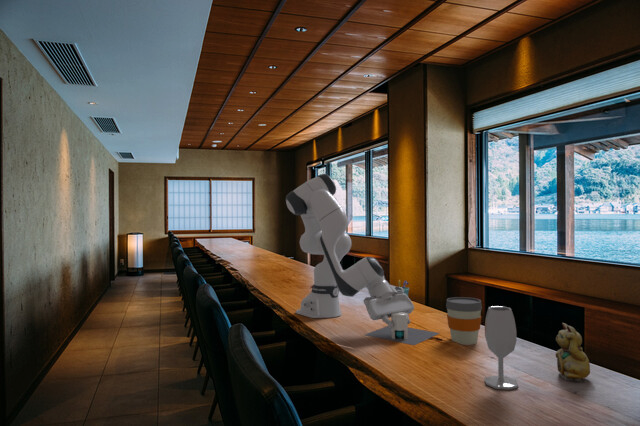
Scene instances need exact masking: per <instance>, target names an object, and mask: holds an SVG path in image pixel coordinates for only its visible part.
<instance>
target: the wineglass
mask: <svg viewBox="0 0 640 426" xmlns="http://www.w3.org/2000/svg"><path fill="white" fill-rule="evenodd" d="M512 310H513V309H512V308H511V307H507V306H505V305H502V306H501V305H500V306H499V305H494V306H493V305H492V306H488V308H487V310H486V315H485V321H484V322H485V323H484V337H485V340H486V345H487V348H488V350H490V351H491V352H492V353H493V354H494V355H495V356H496V357H497V365H498V366H497V368H498V369H497V375H491V376H487V377H486V376H485V377H484V382H485V385H487V386H488V387H491V388H493V389H494V390H495V389H496V390H507V391H508V390H509V391H510V390H514V389H519V384H518V381H517V380H516V379H514V378H510V376H509V377H508V376H504V359H505V357H507V356H508V355H510V354H511V353H513V352H514V351H515V348H516V344H517V339H518V337H517V327H516V321H515V320H516V319H515V316H514V313H513V311H512Z"/></svg>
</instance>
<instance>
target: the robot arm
mask: <svg viewBox="0 0 640 426" xmlns="http://www.w3.org/2000/svg"><path fill="white" fill-rule="evenodd" d="M336 190H337V186H336V183H335V181H334V179H332V177H331V176H330V175H329V174H326V173H322V174H319V175H316V177H314V178H311V179H308V180H307V181H305V182H304V183H302V184H300V185H299V186H297V188H295V189H293V190H291V191H290V192H289V193H287V195H286V196H285V202H286V207H287V209H288V210H289V211H290V212H291V213H292V214H293V215H295V216H300V218H301V220H302V223H303V226H304V233H303V234H301V235H300V239H299V246H300V249H301V251H302V252H304V253H306V254H310V255H317V256H318V255H319V256H321V255H322V256H323V260H322V262H319V263H318V264H316V265H315V267H314V268H313V284H312V285H311V286H309V289H311V291H310V292H309V293H308V294H307V295H306V296H305V297H304V298H303V299H302V300H301V302H300V308H299V309H297V310H296V311H295V314H297V315H301V316H304V317H308V318H311V319H323V318H325V319H327V318H330V319H331V318H336V317H339V316H342V311H341V306H340V305H341V304H340V300H339V299H340V298H339V293H340V294H341V295H342V296H345V297H354V296H355V295H356V294H358V293H359V292H360V291H361V290H363V289H364V288H366V289H367V291H368V294H369V297H367V296H366V297H365V298H364V299H363V304H364V306H365V308H366V312H367V314H368V315H369V318H370V319H371V320H372V321H378V320H381V321H382V322H384V324H386V325H387V326H389V328H392V327H393V326H394V323H393V321H391V319H389V318H391V314H393V313H398V312H404V313H407V321H408V325H410V323H411V320H410V316H409V315H410V314H411V313H413V311H414V310H415V306H414V303H413V302H412V299H411V298H409V295H408V296H407V295H406V294H404V293H403V292H404V290H403V288H401V287H402V286H401V287H399V286H397V285H396V286H395V285H393V284H390V283H389V281H388V280H386V277H385V270H384V269H383V267H382V265H381V263H380V262H379V261H378V259H377V258H376V257H373V256H365V257H363V258H362V259H360V260H358V261H357V262H356V263H354V264H353V265H351V266H350V267H348V268H346V269H343V267H342V264H341V263H340V262H341V261H342V259H343V258H344V256H346V255H347V254H348V253H349V252H350V250H351V248H352V239H351V237H350V235H349V234H348V233H346V231H347V228H348V226H349V218H348V216H347V214H346V212H345V209H344V208H343V207H342V206H341V204H340V203H339V201H338V200H337V199H336V198H335V196H334V195H335V194H336V192H337V191H336Z"/></svg>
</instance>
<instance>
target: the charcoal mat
mask: <svg viewBox="0 0 640 426" xmlns="http://www.w3.org/2000/svg"><path fill="white" fill-rule="evenodd" d="M440 334H441V333H440V332H438V331H437V332H436V331H430V330H426V329H419V328H413V327H409V326H408V339H406V340H405V339H404V336H403V337H402V338H398V337H397V336H395V339H392V338H391V328H389V326H388V325H387V326H384V327H381V328H378V329H376V330H373V331H371V332H368V333H365V334H364V336H366V337H371V338H376V339H377V338H378V339H382V340H386V341H390V342H397V343H401V344H406V345H411V346H416V345H418V344H420V343H422V342H425V341H427V340H429V339H431V338H433V337H436V336H437V335H440Z"/></svg>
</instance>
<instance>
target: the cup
mask: <svg viewBox="0 0 640 426" xmlns="http://www.w3.org/2000/svg"><path fill="white" fill-rule="evenodd" d="M406 285H409V282H407V280H404V281H403V285H402V283H401V279H398V287H401V288H403V290H404V292H403V293H404V294H406V295H407V296H408V297H409V292H410V287H406Z"/></svg>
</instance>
